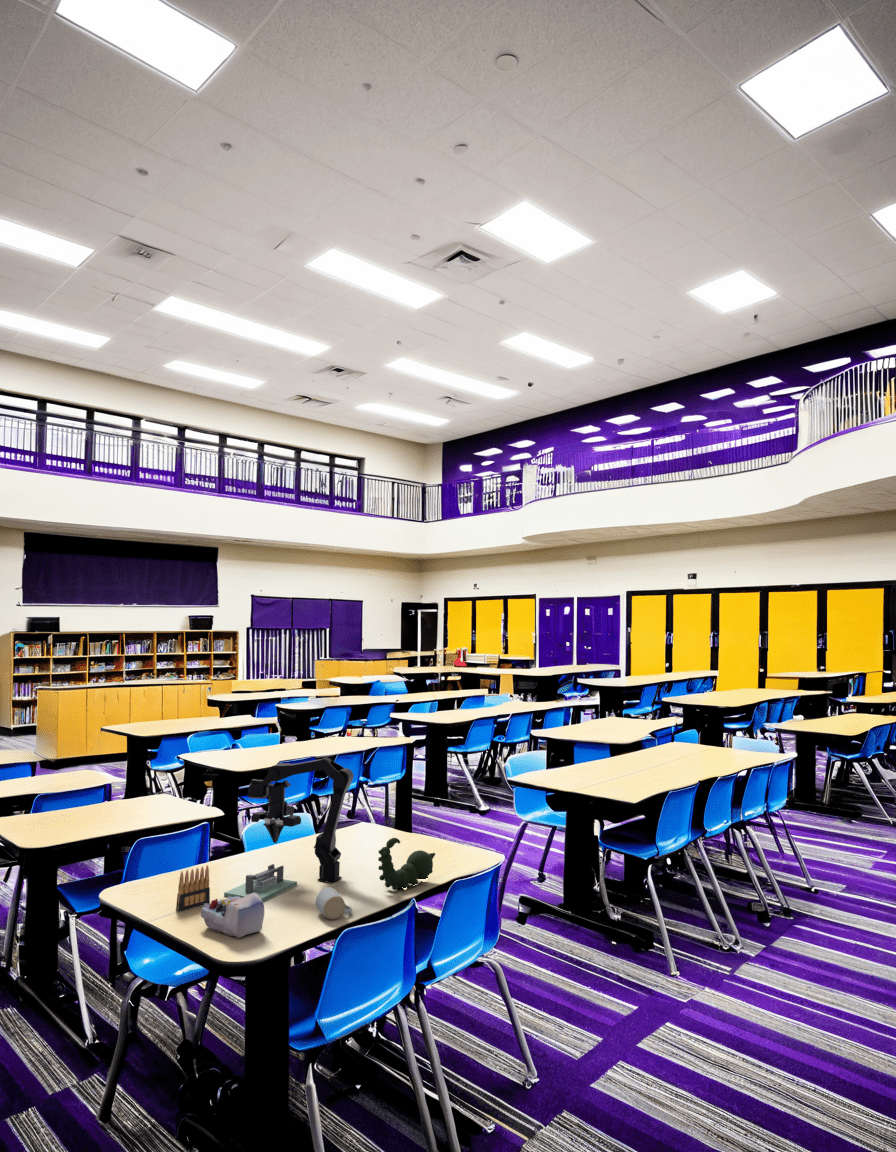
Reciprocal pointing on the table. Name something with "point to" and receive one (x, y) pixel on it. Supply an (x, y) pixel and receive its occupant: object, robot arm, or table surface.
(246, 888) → the lug
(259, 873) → the strap
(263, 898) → the board
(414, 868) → the toy figurine
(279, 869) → the pivot mount
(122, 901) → the table surface
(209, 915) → the cell model
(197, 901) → the ammunition clip
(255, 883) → the heatsink
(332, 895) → the ceramic mug
